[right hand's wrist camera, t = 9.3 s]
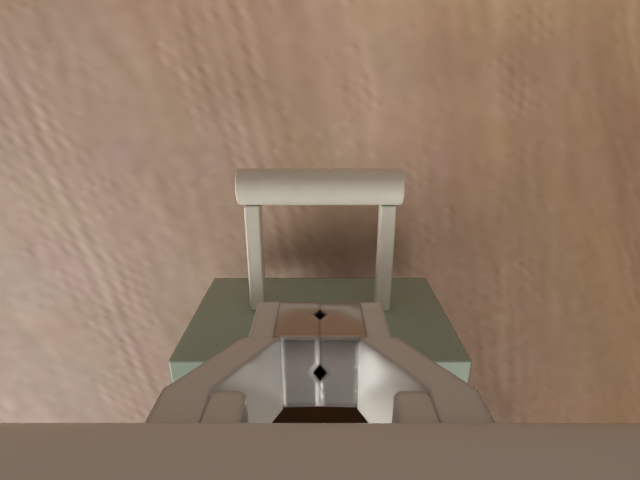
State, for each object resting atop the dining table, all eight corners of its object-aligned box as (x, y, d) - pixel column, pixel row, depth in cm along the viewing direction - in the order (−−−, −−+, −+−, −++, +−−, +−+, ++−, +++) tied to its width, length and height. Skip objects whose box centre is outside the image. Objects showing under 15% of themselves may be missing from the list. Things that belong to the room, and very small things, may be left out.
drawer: (201, 156, 18) (140, 192, 12) (438, 156, 18) (499, 191, 12) (240, 536, 26) (216, 671, 20) (399, 536, 26) (423, 671, 20)
